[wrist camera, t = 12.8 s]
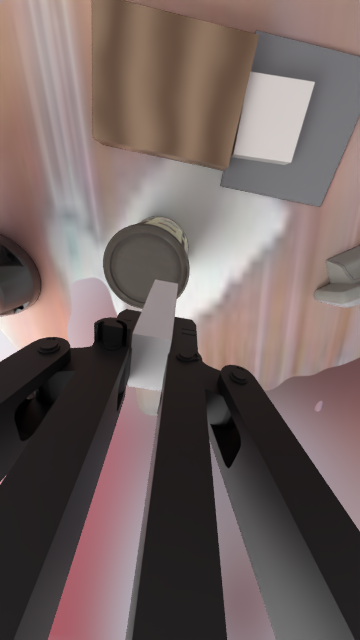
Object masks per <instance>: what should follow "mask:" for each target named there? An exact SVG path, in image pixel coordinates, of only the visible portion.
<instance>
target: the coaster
mask: <svg viewBox="0 0 360 640" xmlns="http://www.w3.org/2000/svg"><path fill="white" fill-rule="evenodd" d="M314 84H315V82H312V81H306V80H300V79H293V78H287V77H281V76H275V75H268V74H262V73H256V72H250V76H249V80H248V84H247V89H246V93H245V97H244V101H243V106H242V110H241V114H240V119H239V123H238V127H237V131H236V136H235V140H234V144H233V148H232V153H231V157H234V158H240V159H247V160H254V161H261V162H267V163H274V164H281V165H286V164H289V163H291V161H292V158H293V155H294V151H295V148H296V145H297V141H298V138H299V134H300V131H301V128H302V124H303V121H304V118H305V114H306V111H307V108H308V104H309V101H310V97H311V94H312V91H313V87H314Z"/></svg>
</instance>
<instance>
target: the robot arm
mask: <svg viewBox="0 0 360 640" xmlns="http://www.w3.org/2000/svg"><path fill="white" fill-rule="evenodd" d="M40 290H41V281H40V276H39V273H38V270H37V268H36V266H35V264H34V263H33V261H32V259H31V258H30V257H29V255H28V254H27V253H26V252H25V251H24V250H23V249H22V248H21V247H20V246H18V245H17V244H16V243H15V242H13V241H12V240H10V239H8V238H6V237H4V236H2V235H0V317H2V316H7V315H13V314H17V313H19V312H22V311H24V310H25V309H27V308H28V307H30V306H31V305H33V304H34V303H35V302H36V300H37V299H38V297H39V294H40ZM177 290H178V284H177V283H171V282H166V281H160V280H155V281H154V283H153V286H152V288H151V290H150V293H149V295H148V298H147V300H146V302H145V305H144V307H143V310H142V312H140V311H134V310H128V309H126V310H124V311H122V312H120V313H119V315H118V316H117V318H111V317H110V318H103V319H101V320H98V321H97V322H95V323H94V333H95V334H94V335H95V336H94V340H95V341H94V343H93V345H92V346H90V347H84V348H70V344H69V342H68V341H67V340H65V339H63V338H58V337H47V338H42V339H39V340H37V341H34V342H32V343H31V344H29V345H27V346H26V347H24V348H22V349H21V350H19V351H17V352H16V353H14V354H12V355H11V356H9V357H7V358H6V359H4V360H2V361H1V362H0V481H1V480H2V479H3V478H4V477H5V476H6V477H5V478H4V480H3V481H2V483H1V485H0V640H48V637H49V633H50V630H51V627H52V624H53V621H54V618H55V615H56V611H57V608H58V605H59V602H60V599H61V596H62V593H63V589H64V586H65V583H66V580H67V577H68V574H69V570H70V567H71V564H72V561H73V558H74V555H75V552H76V548H77V545H78V542H79V539H80V536H81V533H82V529H83V526H84V523H85V520H86V517H87V514H88V511H89V508H90V504H91V501H92V498H93V495H94V492H95V489H96V486H97V482H98V479H99V476H100V473H101V470H102V467H103V464H104V461H105V457H106V454H107V451H108V448H109V445H110V442H111V439H112V435H113V432H114V429H115V426H116V423H117V420H118V417H119V413H120V410H121V407H122V404H123V401H124V397H125V389H126V385H127V382H128V386H130V387H136V388H143V389H149V390H156V391H161V397H160V402H159V407H158V412H157V414H158V416H157V423H156V431H155V437H154V444H153V451H152V458H151V466H150V472H149V479H148V486H147V493H146V500H145V507H144V514H143V521H142V528H141V535H140V542H139V549H138V556H137V563H136V570H135V576H134V583H133V591H132V597H131V605H130V611H129V619H128V626H127V632H126V640H227V633H226V622H225V611H224V600H223V589H222V577H221V567H220V556H219V543H218V533H217V521H216V510H215V499H214V487H213V476H212V465H211V454H210V443H209V439H210V442H211V444H212V448H213V450H214V454H215V457H216V460H217V463H218V466H219V469H220V472H221V475H222V477H223V480H224V484H225V487H226V489H227V493H228V496H229V499H230V502H231V505H232V508H233V511H234V514H235V517H236V520H237V523H238V526H239V529H240V532H241V535H242V538H243V541H244V544H245V547H246V550H247V553H248V556H249V559H250V562H251V565H252V568H253V571H254V574H255V577H256V580H257V583H258V586H259V589H260V592H261V595H262V598H263V601H264V604H265V607H266V610H267V613H268V616H269V619H270V622H271V626H272V629H273V631H274V635H275V637H276V640H360V531H359V530H358V528H357V527H356V525H355V524H354V522H353V521H352V519H351V518H350V517H349V515H348V514H347V512H346V511H345V509H344V508H343V506H342V505H341V503H340V502H339V500H338V499H337V497H336V496H335V495H334V493H333V492H332V490H331V489H330V487H329V486H328V484H327V483H326V482H325V480H324V478H323V477H322V475H321V474H320V473H319V471H318V470H317V468H316V467H315V465H314V464H313V462H312V461H311V459H310V458H309V456H308V455H307V453H306V452H305V451H304V449H303V448H302V446H301V445H300V443H299V442H298V440H297V439H296V437H295V436H294V434H293V433H292V431H291V430H290V428H289V427H288V426H287V424H286V423H285V421H284V420H283V418H282V417H281V415H280V414H279V412H278V411H277V409H276V408H275V407H274V405H273V404H272V402H271V401H270V399H269V398H268V396H267V395H266V393H265V392H264V390H263V389H262V387H261V386H260V384H259V383H258V381H257V380H256V379H255V377H254V376H253V375H252V374H251V373H250V372H249V371H248V370H246V369H245V368H242V367H240V366H236V365H227V366H225V367H223V368H222V370H221V371H219V370H217V369H214V368H212V367H210V366H208V365H206V364H205V363H204V362H203V361H202V358H201V355H200V354H199V353H198V347H197V332H196V325H195V323H194V322H193V321H192V320H190V319H184V318H178V317H174V316H175V307H176V298H177Z"/></svg>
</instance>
